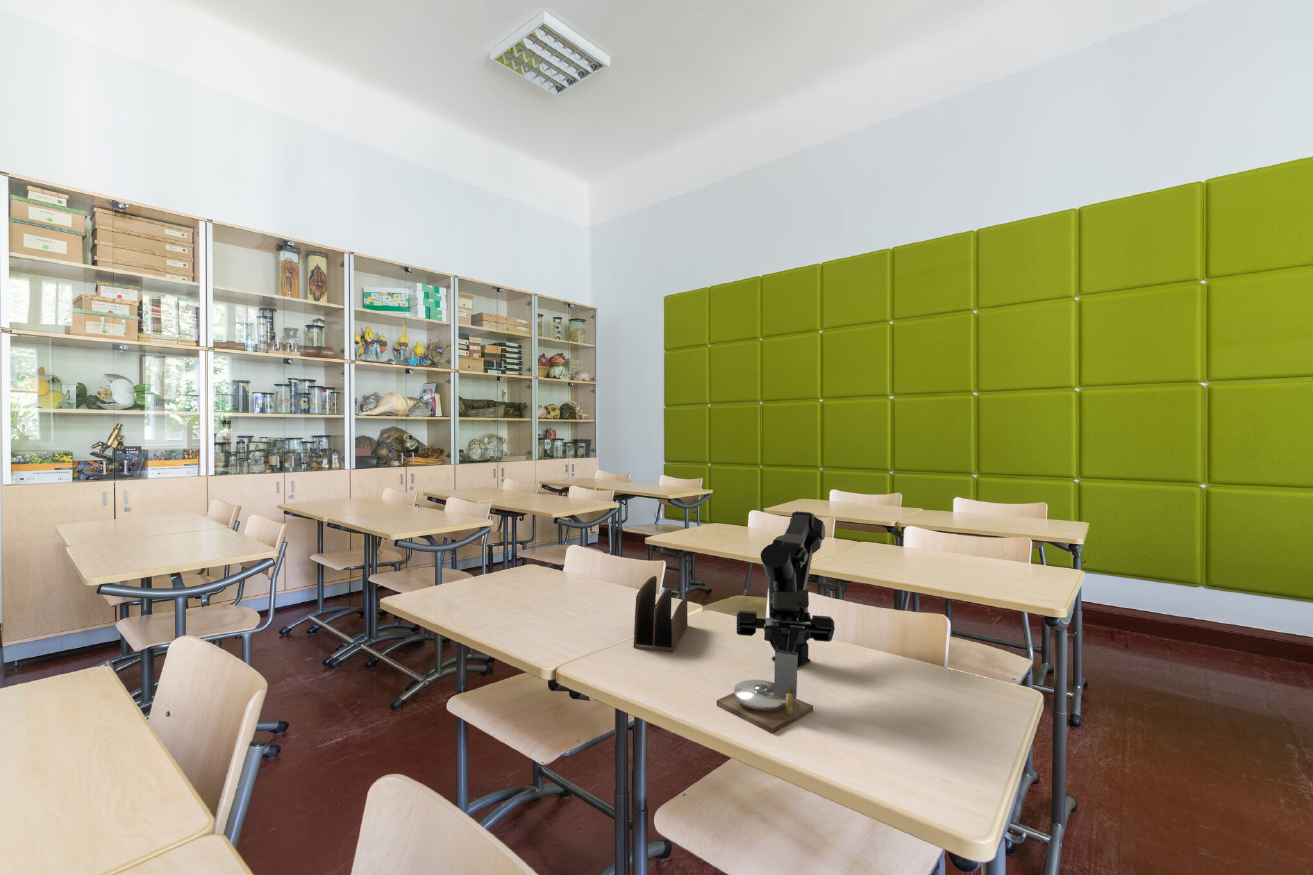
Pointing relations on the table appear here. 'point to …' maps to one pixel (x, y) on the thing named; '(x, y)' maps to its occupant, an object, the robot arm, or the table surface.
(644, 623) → the letter holder
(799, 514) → the robot arm
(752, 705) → the disc and block
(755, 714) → the walnut board
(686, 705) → the table surface
